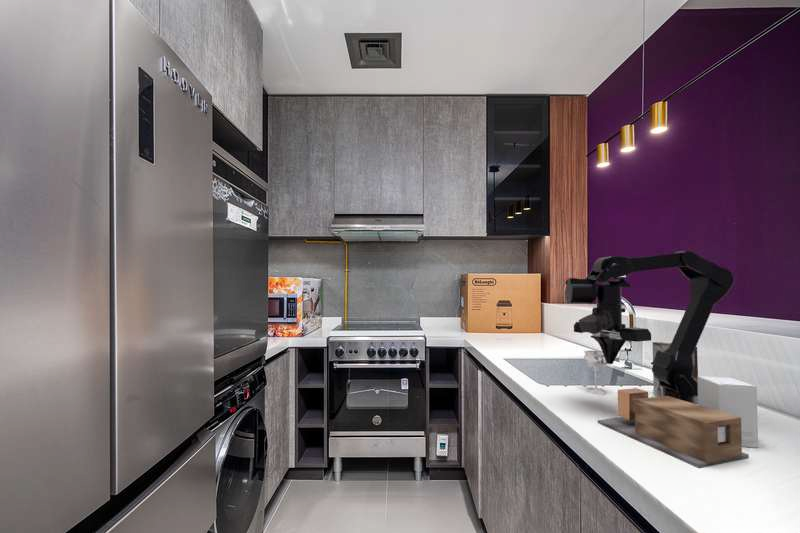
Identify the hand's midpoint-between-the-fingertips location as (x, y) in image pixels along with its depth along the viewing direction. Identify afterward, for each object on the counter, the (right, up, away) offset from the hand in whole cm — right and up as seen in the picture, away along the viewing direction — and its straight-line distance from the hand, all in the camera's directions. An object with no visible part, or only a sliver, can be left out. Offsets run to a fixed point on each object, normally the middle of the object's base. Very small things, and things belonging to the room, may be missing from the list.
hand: (609, 363), depth 95 cm
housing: (+2, -12, -17) cm, 21 cm away
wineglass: (+6, -13, +17) cm, 22 cm away
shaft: (+3, -10, -17) cm, 20 cm away
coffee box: (+26, -14, +11) cm, 31 cm away
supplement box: (+16, -12, -17) cm, 26 cm away
